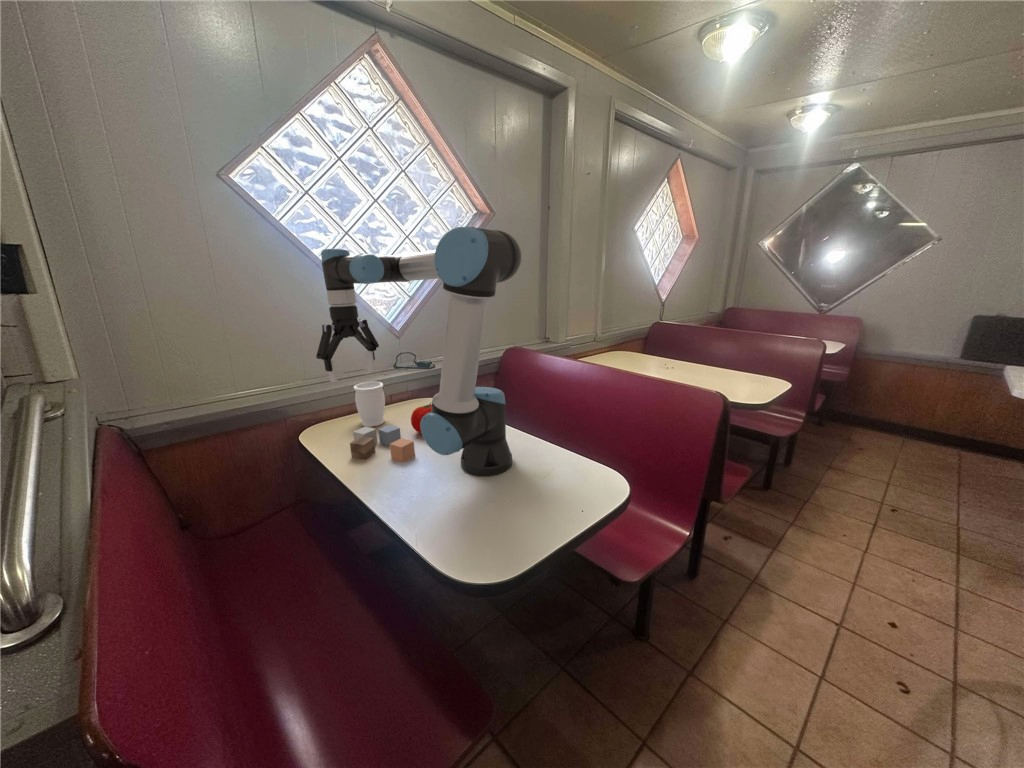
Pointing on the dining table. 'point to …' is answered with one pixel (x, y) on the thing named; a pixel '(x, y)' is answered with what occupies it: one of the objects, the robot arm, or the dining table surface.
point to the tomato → (419, 416)
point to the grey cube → (366, 433)
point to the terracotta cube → (402, 450)
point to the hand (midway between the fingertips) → (353, 376)
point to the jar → (370, 403)
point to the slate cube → (389, 434)
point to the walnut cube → (362, 447)
